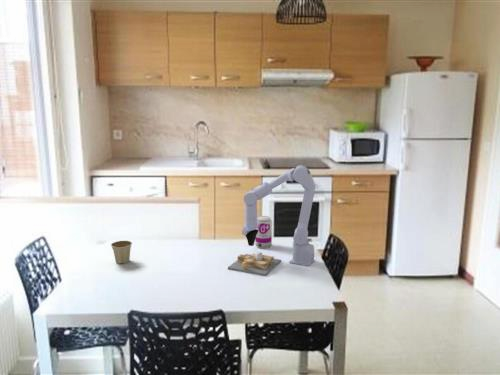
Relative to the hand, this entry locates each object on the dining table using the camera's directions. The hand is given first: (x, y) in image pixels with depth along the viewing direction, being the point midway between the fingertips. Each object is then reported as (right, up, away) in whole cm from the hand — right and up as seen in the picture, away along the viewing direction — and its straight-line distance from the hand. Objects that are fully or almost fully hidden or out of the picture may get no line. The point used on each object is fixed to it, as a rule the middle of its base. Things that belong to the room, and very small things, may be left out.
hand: (251, 245), depth 201 cm
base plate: (+2, -8, -7) cm, 11 cm away
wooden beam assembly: (+1, -7, -7) cm, 10 cm away
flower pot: (-60, -8, 0) cm, 60 cm away
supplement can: (+6, -3, +18) cm, 20 cm away
